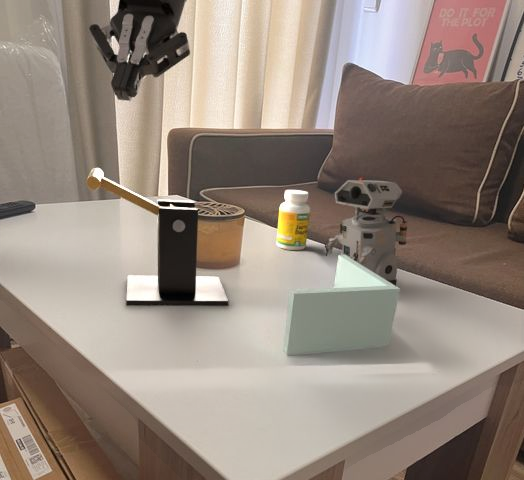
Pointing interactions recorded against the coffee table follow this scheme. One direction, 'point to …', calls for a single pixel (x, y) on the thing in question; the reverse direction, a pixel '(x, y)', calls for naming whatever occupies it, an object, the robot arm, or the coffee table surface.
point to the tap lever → (120, 191)
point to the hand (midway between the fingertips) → (122, 95)
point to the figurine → (370, 226)
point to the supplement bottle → (293, 220)
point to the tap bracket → (176, 264)
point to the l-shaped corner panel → (341, 312)
